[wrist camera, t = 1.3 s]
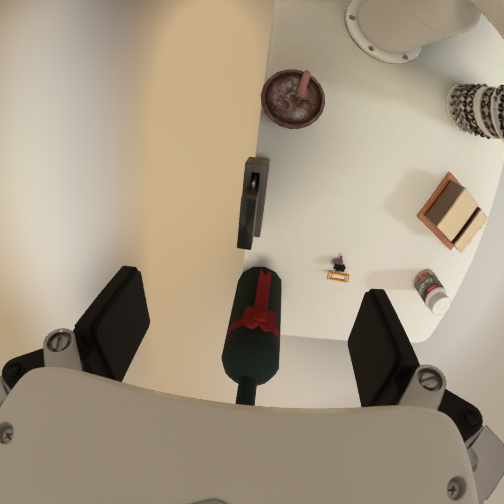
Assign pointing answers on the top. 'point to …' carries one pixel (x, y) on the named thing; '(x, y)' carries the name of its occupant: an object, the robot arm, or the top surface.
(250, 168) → the knife block
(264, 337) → the wine bottle
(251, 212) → the knife
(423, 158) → the top surface
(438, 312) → the pill bottle
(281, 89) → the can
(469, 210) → the slotted block stand
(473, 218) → the slice
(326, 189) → the top surface
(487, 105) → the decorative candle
